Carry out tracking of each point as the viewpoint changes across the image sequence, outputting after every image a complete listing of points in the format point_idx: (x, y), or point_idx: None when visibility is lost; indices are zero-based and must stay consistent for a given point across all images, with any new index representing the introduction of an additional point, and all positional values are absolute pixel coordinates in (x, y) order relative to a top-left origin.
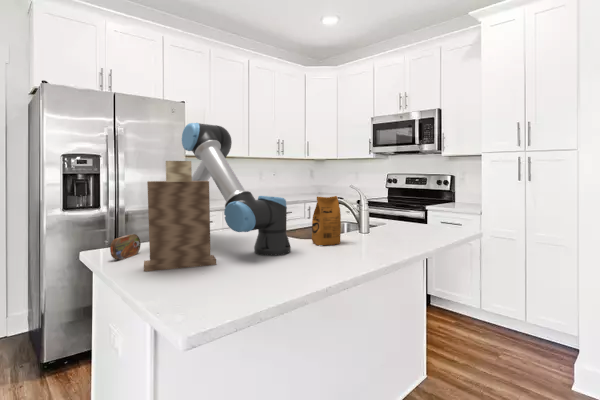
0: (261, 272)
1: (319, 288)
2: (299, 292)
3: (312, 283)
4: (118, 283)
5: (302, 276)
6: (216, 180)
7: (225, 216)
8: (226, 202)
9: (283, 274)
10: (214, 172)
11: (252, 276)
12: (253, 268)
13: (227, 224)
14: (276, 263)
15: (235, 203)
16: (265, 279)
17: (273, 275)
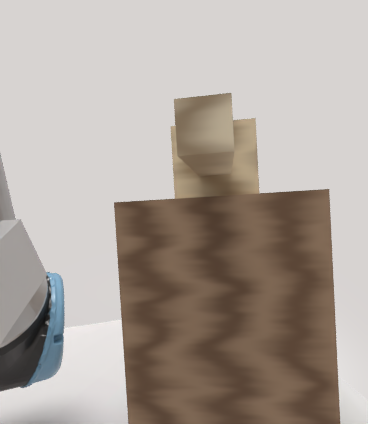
0: (93, 373)
1: (89, 324)
2: (116, 322)
3: (80, 332)
4: (360, 395)
5: (63, 348)
6: (9, 209)
7: (62, 336)
8: (47, 290)
9: (75, 358)
10: (2, 165)
11: (121, 363)
12: (85, 393)
13: (60, 363)
14: (16, 405)
15: (59, 275)
16: (114, 351)
17: (91, 359)
